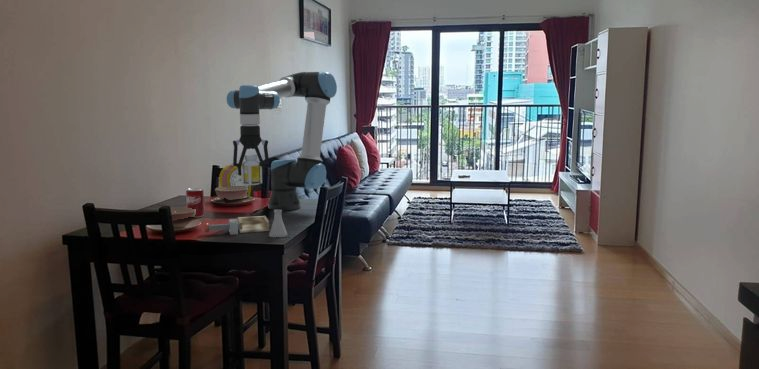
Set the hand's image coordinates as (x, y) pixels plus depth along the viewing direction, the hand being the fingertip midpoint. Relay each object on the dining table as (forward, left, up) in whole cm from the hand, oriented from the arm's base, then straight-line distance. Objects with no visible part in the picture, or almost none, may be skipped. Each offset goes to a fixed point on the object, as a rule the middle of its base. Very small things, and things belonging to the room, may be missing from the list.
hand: (251, 183), depth 223 cm
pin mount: (+8, +6, -18) cm, 21 cm away
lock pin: (+12, +6, -17) cm, 22 cm away
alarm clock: (+2, -67, -19) cm, 69 cm away
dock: (0, 0, -18) cm, 18 cm away
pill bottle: (0, 0, -1) cm, 1 cm away
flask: (-8, +15, -19) cm, 25 cm away
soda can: (+22, -29, -19) cm, 41 cm away
